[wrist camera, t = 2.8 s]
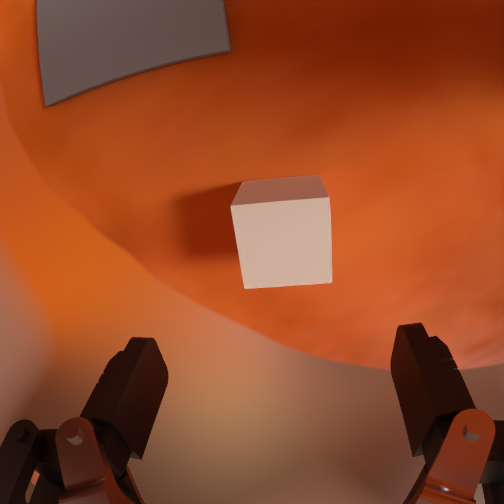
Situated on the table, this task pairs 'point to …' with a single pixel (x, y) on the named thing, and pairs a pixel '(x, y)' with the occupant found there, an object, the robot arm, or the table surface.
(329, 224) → the cream cube
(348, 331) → the table surface
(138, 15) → the slate mat
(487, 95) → the table surface
